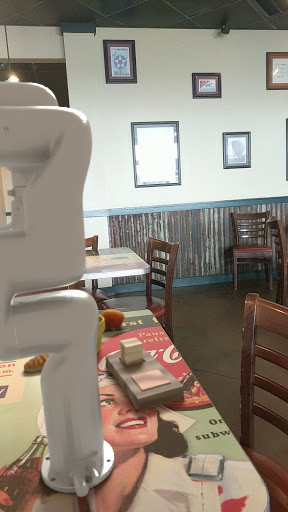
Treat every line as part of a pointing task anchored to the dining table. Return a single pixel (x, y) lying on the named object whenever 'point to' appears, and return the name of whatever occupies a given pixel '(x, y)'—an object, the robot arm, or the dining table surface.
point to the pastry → (36, 363)
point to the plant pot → (100, 331)
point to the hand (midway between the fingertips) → (36, 258)
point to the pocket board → (145, 381)
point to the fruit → (113, 319)
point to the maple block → (131, 352)
